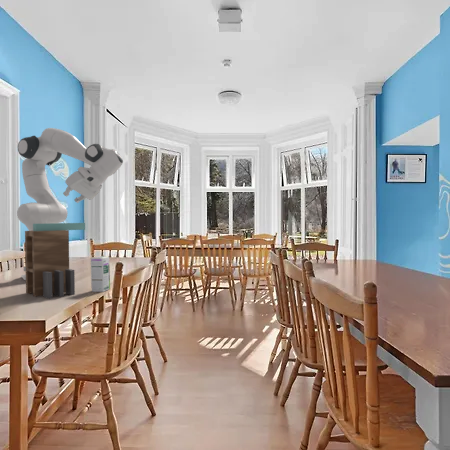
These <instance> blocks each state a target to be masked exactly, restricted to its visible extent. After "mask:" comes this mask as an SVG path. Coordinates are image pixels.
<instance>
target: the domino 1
mask: <svg viewBox="0 0 450 450" xmlns="http://www.w3.org/2000/svg"><path fill="white" fill-rule="evenodd" d="M42 297H44V298H45V299H52V298H53V294H52V272H48V271H44V272H43V295H42Z"/></svg>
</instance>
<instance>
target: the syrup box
mask: <svg viewBox="0 0 450 450" xmlns="http://www.w3.org/2000/svg"><path fill="white" fill-rule="evenodd" d="M110 273H111V271H110V256H105V255H103V256H102V255H101V256H95V257H91V258H90V279H91V280H90V281H91V282H90V283H91V286H90V287H91V292H94V293H105V292H106V291H109V290H111V278H110V276H111V275H110Z"/></svg>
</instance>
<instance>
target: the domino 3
mask: <svg viewBox="0 0 450 450" xmlns="http://www.w3.org/2000/svg"><path fill="white" fill-rule="evenodd" d="M65 285H66V292H65V294H67V295H70V296H72V295H73V296H74V295H75V294H76V291H75V289H76V288H75V287H76V285H75V269H71V268H69V269H65Z"/></svg>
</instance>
